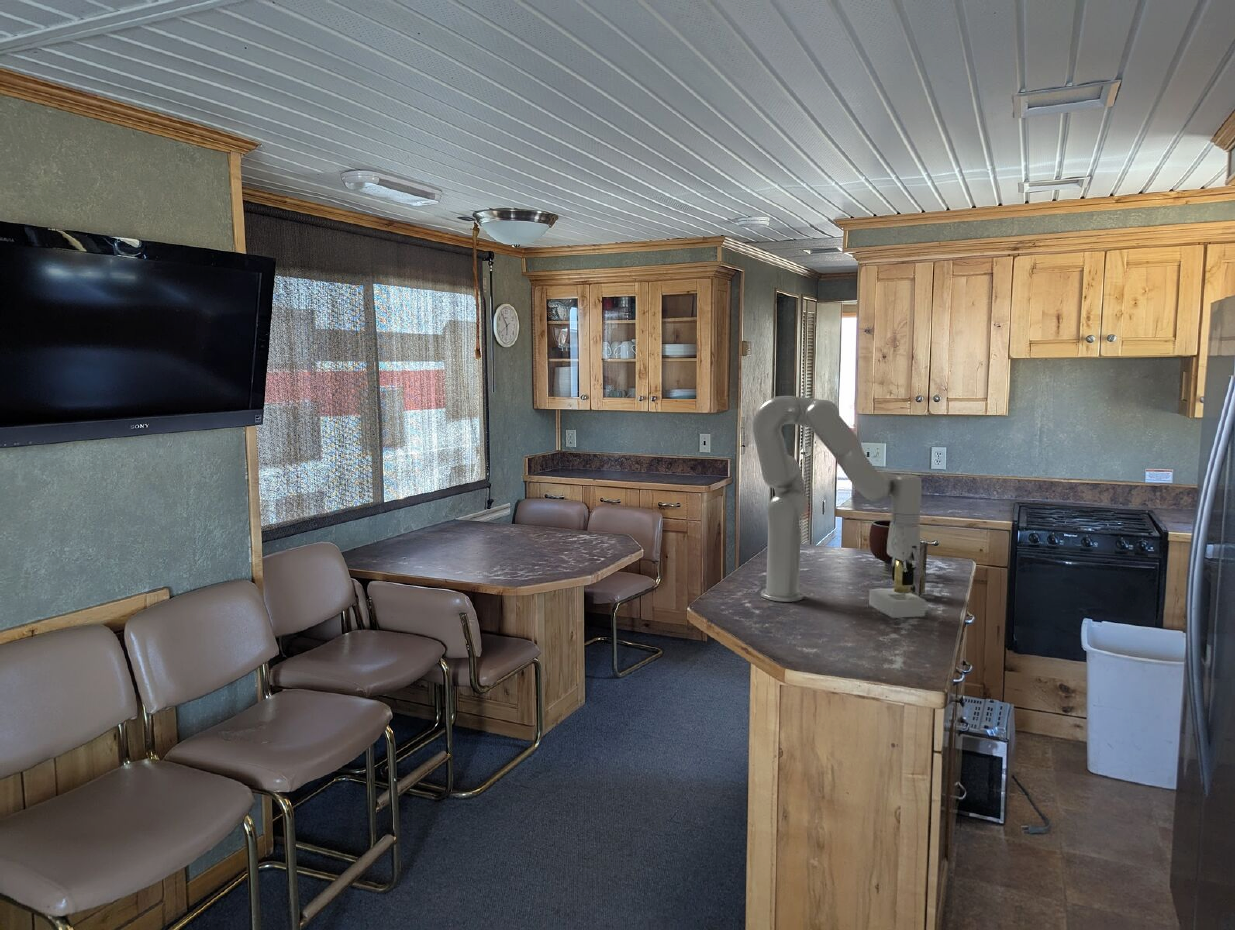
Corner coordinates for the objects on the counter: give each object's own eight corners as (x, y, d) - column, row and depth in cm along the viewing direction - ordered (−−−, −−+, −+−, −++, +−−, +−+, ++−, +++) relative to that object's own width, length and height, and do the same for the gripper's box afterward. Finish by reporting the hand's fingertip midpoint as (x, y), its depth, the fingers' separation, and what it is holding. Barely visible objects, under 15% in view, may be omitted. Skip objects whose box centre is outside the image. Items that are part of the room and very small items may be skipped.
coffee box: (903, 590, 259) (906, 539, 257) (925, 593, 255) (928, 542, 253) (897, 597, 251) (900, 544, 249) (919, 600, 248) (922, 547, 246)
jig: (868, 604, 242) (869, 589, 242) (899, 602, 245) (900, 588, 244) (892, 617, 230) (893, 602, 229) (924, 616, 232) (925, 600, 231)
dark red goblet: (867, 567, 288) (870, 510, 286) (909, 570, 284) (912, 512, 282) (868, 577, 273) (871, 518, 271) (912, 581, 270) (916, 520, 267)
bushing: (890, 589, 236) (892, 558, 235) (904, 589, 237) (906, 557, 236) (899, 593, 232) (900, 562, 231) (913, 593, 233) (914, 561, 232)
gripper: (877, 514, 239) (875, 575, 242) (909, 524, 223) (906, 591, 225) (901, 513, 241) (898, 574, 243) (935, 524, 225) (931, 589, 227)
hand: (902, 581), depth 234 cm, fingers closed on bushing, 4 cm apart
